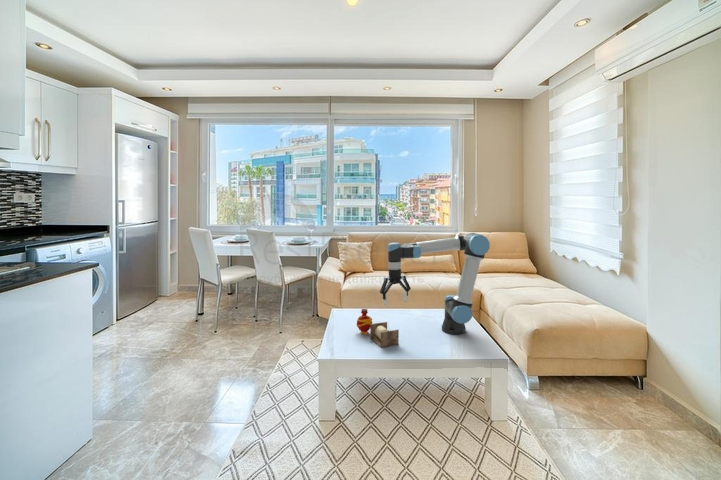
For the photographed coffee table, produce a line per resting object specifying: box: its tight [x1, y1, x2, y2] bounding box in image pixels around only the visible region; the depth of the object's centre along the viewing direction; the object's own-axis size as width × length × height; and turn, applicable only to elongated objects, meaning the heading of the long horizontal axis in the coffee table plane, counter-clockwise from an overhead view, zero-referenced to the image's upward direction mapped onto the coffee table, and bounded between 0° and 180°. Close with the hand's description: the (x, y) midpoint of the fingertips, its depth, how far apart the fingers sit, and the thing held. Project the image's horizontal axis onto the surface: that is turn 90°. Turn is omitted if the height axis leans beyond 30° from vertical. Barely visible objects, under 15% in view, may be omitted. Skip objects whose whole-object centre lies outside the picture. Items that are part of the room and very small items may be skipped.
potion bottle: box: [356, 308, 374, 335], centre depth 220 cm, size 10×10×15 cm
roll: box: [375, 326, 390, 339], centre depth 205 cm, size 7×12×7 cm, turn 22°
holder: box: [369, 321, 399, 349], centre depth 205 cm, size 11×16×9 cm
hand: (395, 303), depth 209 cm, fingers open, 13 cm apart
